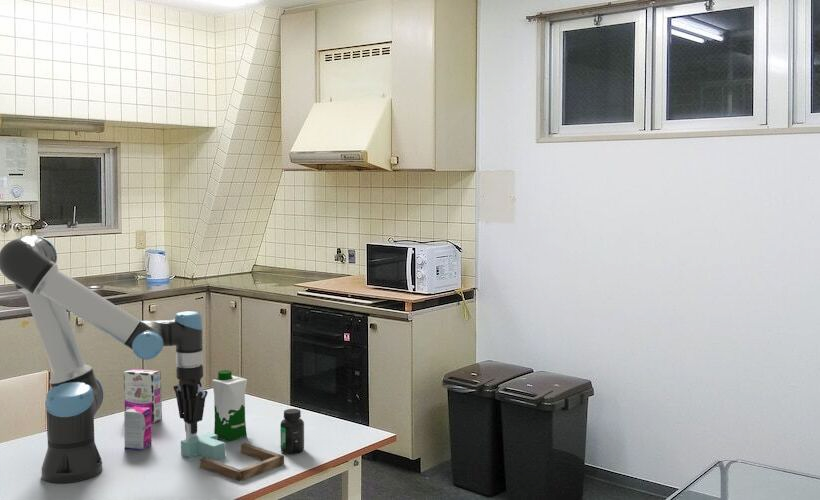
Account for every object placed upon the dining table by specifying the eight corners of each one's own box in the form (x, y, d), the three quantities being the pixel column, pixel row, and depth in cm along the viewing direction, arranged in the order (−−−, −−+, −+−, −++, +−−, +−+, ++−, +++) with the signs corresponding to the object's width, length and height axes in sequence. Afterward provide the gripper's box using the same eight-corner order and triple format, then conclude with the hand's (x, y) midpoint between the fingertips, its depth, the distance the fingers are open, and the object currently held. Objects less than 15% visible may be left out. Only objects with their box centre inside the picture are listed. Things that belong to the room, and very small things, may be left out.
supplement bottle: (282, 455, 231) (281, 415, 230) (279, 448, 238) (279, 408, 236) (305, 453, 233) (305, 413, 232) (302, 446, 239) (302, 406, 238)
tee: (205, 463, 225) (205, 449, 225) (181, 454, 232) (180, 440, 231) (233, 453, 233) (233, 439, 233) (209, 445, 240) (208, 432, 239)
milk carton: (231, 430, 254) (230, 367, 252) (251, 435, 248) (250, 372, 246) (209, 437, 247) (208, 373, 245) (229, 443, 241) (228, 378, 239)
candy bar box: (162, 419, 264) (161, 370, 262) (153, 424, 259) (152, 374, 257) (133, 416, 267) (132, 367, 265) (124, 420, 262) (122, 371, 261)
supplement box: (142, 451, 234) (141, 412, 233) (124, 449, 235) (122, 411, 234) (152, 444, 240) (151, 406, 239) (134, 442, 241) (133, 405, 240)
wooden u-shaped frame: (239, 481, 212) (239, 472, 212) (200, 467, 222) (199, 458, 222) (284, 464, 224) (284, 455, 224) (244, 451, 234) (244, 443, 234)
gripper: (214, 365, 233) (216, 444, 236) (186, 359, 241) (188, 435, 244) (193, 370, 227) (195, 451, 230) (165, 364, 235) (167, 442, 238)
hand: (191, 443), depth 237 cm, fingers closed
